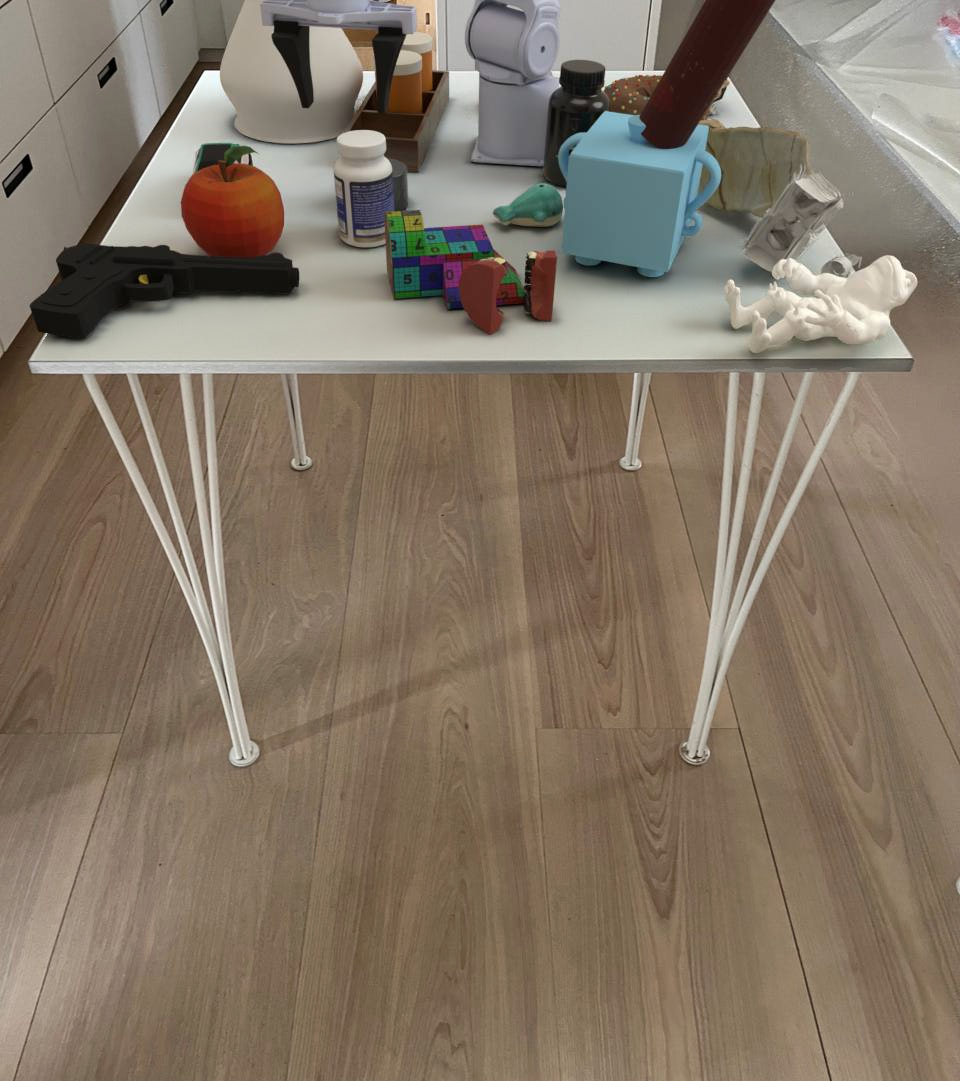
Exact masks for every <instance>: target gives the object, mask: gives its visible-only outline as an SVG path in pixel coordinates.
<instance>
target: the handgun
mask: <svg viewBox="0 0 960 1081" xmlns="http://www.w3.org/2000/svg"><path fill="white" fill-rule="evenodd" d="M55 258H56V259H55V263H56V266H57V269H58V273H59V276H60V279H61V281H59V282H57V283H56V284H54V285H53V286H51V287H50V288H49V289H47V290H45V291H44V292H43V293H41V294H40V295H39V296H37V297H36V298H35V299H34V300H32V301H31V303H30V304H29V308H30V311H31V314H32V315H31V316H32V317H33V321H34V324H35V327H36V329H37V332H38V333H42V334H48V335H52V336H53V335H54V336H59V337H66V338H73V339H74V338H76V339H86V338H87V337H88V336H90V335H91V333H92V332H93V331H94V330H95V328H97V326H98V325H99V323H100V322H101V321H102V320H103V319H104V318H105V317H106V316H107V315H108V314H109V313H111V312H112V311H113V310H114V309H116V308H118V307H119V306H123V305H127V304H128V303H130V302H132V301H135V302H163V301H168V300H170V299H171V297H172V296H173V295H180V294H181V293H182V294H186V293H190V294H191V293H194V292H196V291H197V292H230V293H231V292H232V293H254V294H255V293H256V294H257V293H258V294H288V295H289V294H292V293H293V292H294V290H295V288H299V286H300V269H299V267H294V266H293V259H291V258H287V257H285V256H284V254H282V252H272V253H271V252H270V253H268V254H266V255H264V256H258V257H222V256H210V255H201V254H188V253H181V252H179V251H176V250H172V249H171V248H170V246H169V245H167V244H158V245H156V246H150V245H142V246H136V245H130V246H117V245H116V246H115V245H105V244H95V243H79V244H76V245H72V246H69V247H68V246H64V247H63V250H62V251H61V252H60V253H59V254H58V256H57V257H55Z"/></svg>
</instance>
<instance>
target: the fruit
mask: <svg viewBox="0 0 960 1081" xmlns="http://www.w3.org/2000/svg"><path fill="white" fill-rule="evenodd" d="M249 153H250V154H254V153H255V154H258V155H260V153H259V152H257V151H256V150H255V149H253V148H252V147H250V146H247V145H240V146H232V147H231V148H230V149H228V150H227V151H226V152H225V155H224V161H223V160H217V161H218V165H213V166H210V167H206V168H203V169H201V170H199V171H197V172H196V173H194V174H193V175H192V174H191V175H190V177H189V179H188V180H187V182H186V184H185V185H184V188H183V191H182V195H181V199H180V212H181V218H182V220H183V224H184V226H185V230H187V232H188V234H189V235H190V236H191V238H192V239H193V241H194V242H195V243H196V245H197V247H198V248H200V249H201V250H202V251H203V252H204V253H205V254H207V256H222V257H258V256H264V255H268V254H270V253H271V252H272V251H273V249H274V248H275V247H276V245H277V244H278V242H279V241H280V239H281V236H282V234H283V230H284V227H285V207H284V203H283V198H282V194H281V192H280V189H279V187H278V186H277V183H276V182H275V181H274V180H273V179H272V177H271V176H270V175H268V174H267V173H266V172H264V171H263V170H262V169H260V168H258V167H256V166H254V165H253V166H251V165H248V164H242V163H234V162H235V161H236V160H237V159H239V158H240V157H242V156H243V155H245V154H249Z"/></svg>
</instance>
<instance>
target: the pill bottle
mask: <svg viewBox="0 0 960 1081" xmlns="http://www.w3.org/2000/svg"><path fill="white" fill-rule="evenodd" d="M336 152H337V153H338V155H339V156H340V157H339V158H338V159H337V160H336V161H335V163H334V165H333V180H334V181H333V182H334V191H335V203H336V211H337V212H336V214H337V226H338V235H339V238H340V239H341V240H342V241H343V242H344V243H345V244H347V245H349V246H352V247H356V248H376V247H380V246H383V245H386V241H385V212H394V195H393V174H392V166H391V163H390V162H389V160H388V159H387V158H386V157H384V153H385V152H386V138H385V136H384V135H383V134H381V133H379V132H376V131H371V130H355V131H349V132H345V133H343V134H341V135H339V136H338V137H336Z"/></svg>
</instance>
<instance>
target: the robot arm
mask: <svg viewBox="0 0 960 1081" xmlns="http://www.w3.org/2000/svg"><path fill="white" fill-rule="evenodd" d="M509 6H510V7H509ZM511 6H512V7H511ZM513 7H516V8H518V9H516V8H513ZM260 9H261V18H262V25H263V26H274V33H273V34H272V35H271V37H272V41H273V44H274V45H275V47H276V48H277V50H278V51H279V53H280V54H281V56H282V58H283V60H284V61H285V63H286V65H287V67H288V69H289V71H290V74H291V76H292V78H293V81H294V83H295V86H296V89H297V91H298V95H299V98H300V101H301V105H302V108H309V107H310V106H311V105H312V103H313V102H314V92H313V83H312V76H311V68H310V47H309V32H310V26H313V27H330V28H341V29H347V30H348V29H351V30H365V31H366V30H367V31H377V34H375V35H374V36H373V38H372V39H371V46H372V50H373V57H374V59H375V67H376V76H377V110H378V113H385V112H386V111H387V109H388V107H389V94H390V88H391V83H392V78H393V74H394V70H395V66H396V63H397V60H398V57H399V54H400V51H401V48H402V45H403V43H404V40H405V38H406V35H407V34H414V32H415V31H416V32H417V27H418V22H417V21H418V20H417V19H418V18H417V6H415V5H413V6H412V5H403V4H401V5H400V4H397V3H396V4H395V3H389V2H382V1H378V0H263V1H262V2H261V3H260ZM561 9H562V8H561V4H560V2H559V1H558V0H474V4H473V7H472V10H471V12H470V14H469V16H468V18H467V21H466V24H465V29H464V45H465V49H466V52H467V54H468V55H469V56H470V58H471V59H473V61H474V71H477V72H478V115H477V116H478V121H477V122H478V123H477V125H478V126H477V131H478V132H477V138H476V141H475V144H474V148H473V150H472V153H471V157H470V162H473V163H482V164H500V165H515V166H530V167H543V164H544V151H545V139H546V127H547V114H548V103H549V98H550V96H551V94H552V93H553V92H554V91H555V90H556V89H558V88H559V87H560V84H559V77H558V76H554V77H552V76H547V73H548V72H549V71H552V68H553V67H554V65H555V63H556V61H557V59H558V55H559V51H560V43H561V39H560V29H559V27H560V26H559V25H560V24H559V22H560V14H561Z"/></svg>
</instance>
